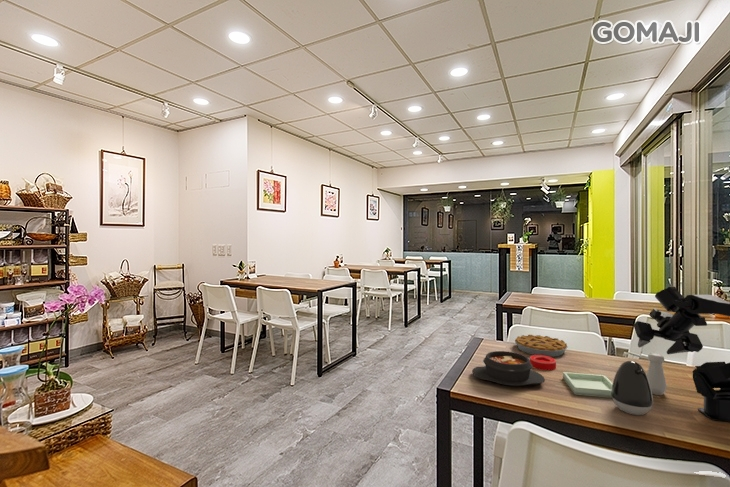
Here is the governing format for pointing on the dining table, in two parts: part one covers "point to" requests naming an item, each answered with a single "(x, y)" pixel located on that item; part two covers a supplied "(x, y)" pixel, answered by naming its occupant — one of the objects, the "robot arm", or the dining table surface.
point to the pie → (541, 345)
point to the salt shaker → (656, 374)
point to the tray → (588, 384)
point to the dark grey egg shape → (632, 389)
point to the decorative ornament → (543, 362)
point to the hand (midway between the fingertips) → (652, 349)
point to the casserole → (508, 369)
